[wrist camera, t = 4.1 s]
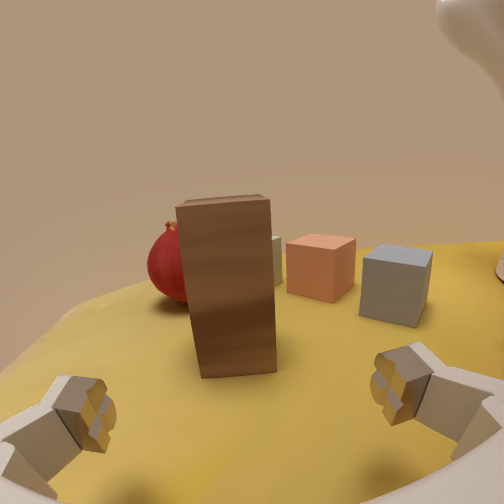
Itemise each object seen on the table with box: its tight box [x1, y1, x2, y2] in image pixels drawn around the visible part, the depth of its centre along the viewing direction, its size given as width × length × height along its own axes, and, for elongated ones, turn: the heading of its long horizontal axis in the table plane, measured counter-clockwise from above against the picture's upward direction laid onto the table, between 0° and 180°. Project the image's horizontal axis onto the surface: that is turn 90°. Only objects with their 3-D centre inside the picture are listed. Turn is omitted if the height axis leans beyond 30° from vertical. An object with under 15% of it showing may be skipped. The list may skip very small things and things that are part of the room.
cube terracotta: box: [286, 233, 356, 303], centre depth 27 cm, size 5×5×5 cm
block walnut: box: [175, 194, 277, 378], centre depth 17 cm, size 4×4×10 cm
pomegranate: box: [147, 220, 188, 304], centre depth 26 cm, size 6×6×8 cm
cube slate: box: [359, 244, 433, 328], centre depth 21 cm, size 5×5×5 cm
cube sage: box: [272, 236, 282, 286], centre depth 30 cm, size 5×5×5 cm
